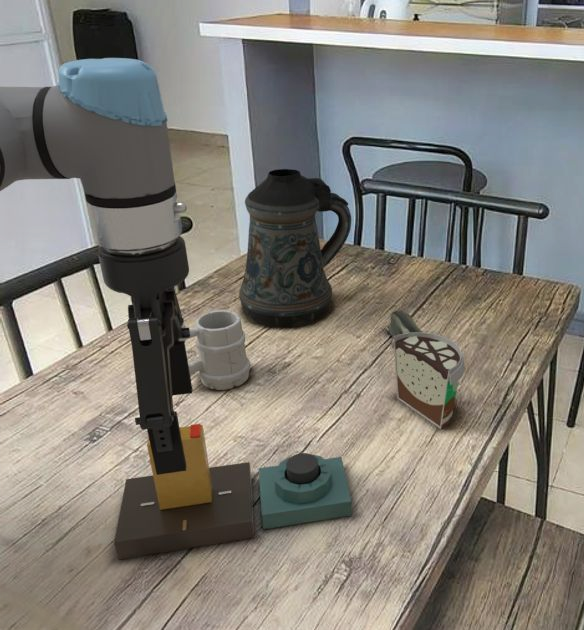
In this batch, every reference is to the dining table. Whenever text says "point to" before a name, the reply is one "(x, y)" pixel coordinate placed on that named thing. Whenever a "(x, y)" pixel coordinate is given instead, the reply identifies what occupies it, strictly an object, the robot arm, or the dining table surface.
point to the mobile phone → (402, 324)
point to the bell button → (302, 468)
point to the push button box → (304, 495)
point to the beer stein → (290, 250)
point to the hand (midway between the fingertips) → (176, 428)
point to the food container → (428, 374)
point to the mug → (219, 350)
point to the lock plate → (185, 515)
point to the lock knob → (186, 473)
